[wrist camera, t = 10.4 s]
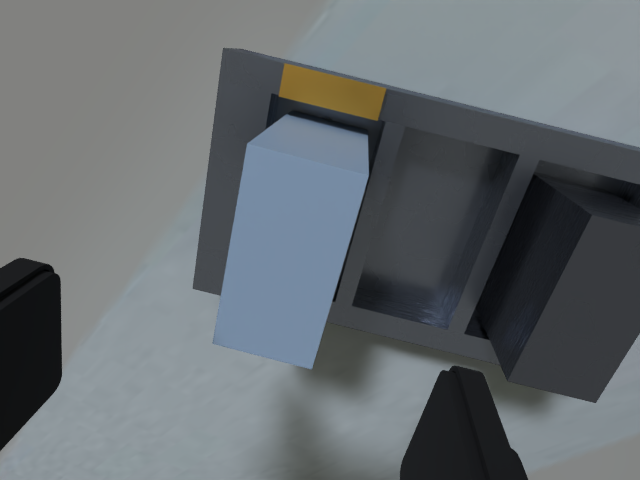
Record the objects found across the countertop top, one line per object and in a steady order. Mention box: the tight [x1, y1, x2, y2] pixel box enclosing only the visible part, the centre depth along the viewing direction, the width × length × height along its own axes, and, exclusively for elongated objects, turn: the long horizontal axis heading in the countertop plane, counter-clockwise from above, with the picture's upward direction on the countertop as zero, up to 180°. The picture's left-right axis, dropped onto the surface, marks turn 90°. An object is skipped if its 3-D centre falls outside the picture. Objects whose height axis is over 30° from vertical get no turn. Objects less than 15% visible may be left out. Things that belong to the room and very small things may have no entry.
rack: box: [193, 48, 640, 403], centre depth 19 cm, size 11×20×7 cm, turn 77°
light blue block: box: [213, 110, 369, 369], centre depth 17 cm, size 7×4×8 cm, turn 166°
